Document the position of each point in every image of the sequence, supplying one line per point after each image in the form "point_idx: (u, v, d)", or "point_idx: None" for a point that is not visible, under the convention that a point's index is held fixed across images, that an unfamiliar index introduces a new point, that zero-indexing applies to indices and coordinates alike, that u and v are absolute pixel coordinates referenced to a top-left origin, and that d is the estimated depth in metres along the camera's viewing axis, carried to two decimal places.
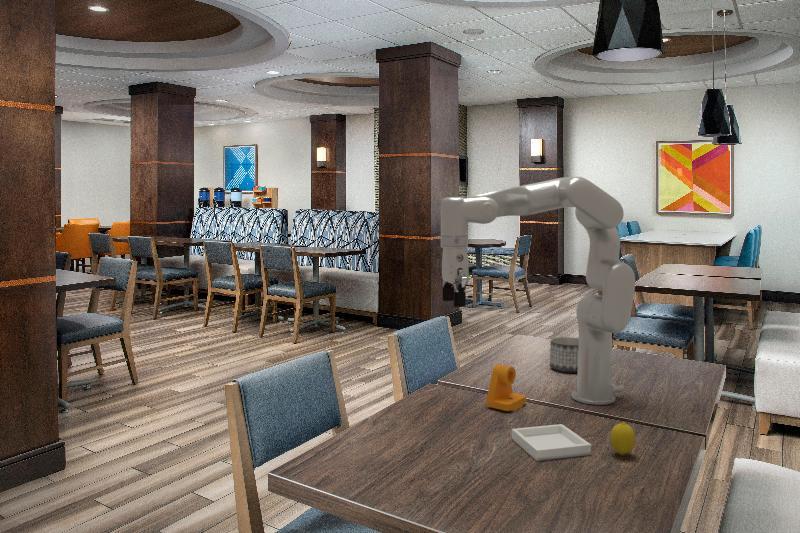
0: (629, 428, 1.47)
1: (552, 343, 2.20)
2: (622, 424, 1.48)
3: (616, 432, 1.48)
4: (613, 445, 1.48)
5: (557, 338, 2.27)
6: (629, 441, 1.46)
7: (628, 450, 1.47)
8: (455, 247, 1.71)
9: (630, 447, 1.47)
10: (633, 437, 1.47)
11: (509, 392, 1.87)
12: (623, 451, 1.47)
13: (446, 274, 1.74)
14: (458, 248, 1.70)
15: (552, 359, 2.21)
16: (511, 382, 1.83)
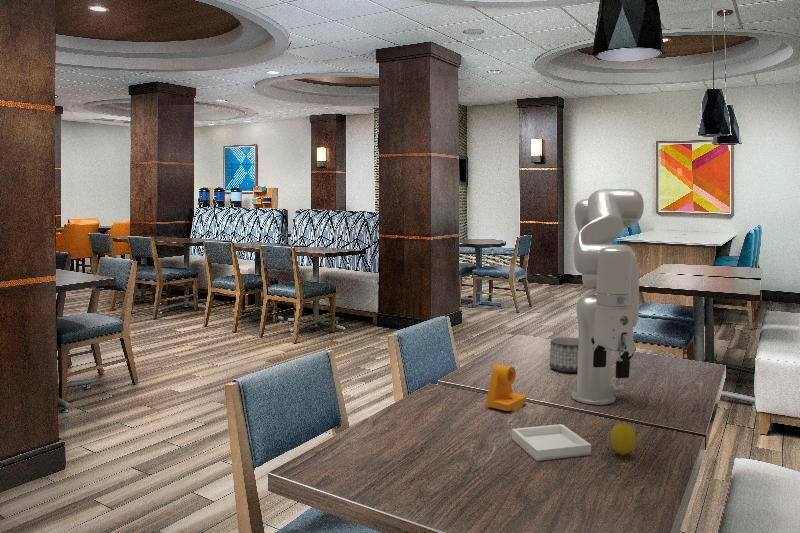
0: (629, 428, 1.47)
1: (552, 343, 2.20)
2: (622, 424, 1.48)
3: (616, 432, 1.48)
4: (613, 445, 1.48)
5: (557, 338, 2.27)
6: (629, 441, 1.46)
7: (628, 450, 1.47)
8: (618, 307, 1.44)
9: (630, 447, 1.47)
10: (633, 437, 1.47)
11: (509, 392, 1.87)
12: (623, 451, 1.47)
13: (603, 338, 1.48)
14: (622, 309, 1.44)
15: (552, 359, 2.21)
16: (511, 382, 1.83)
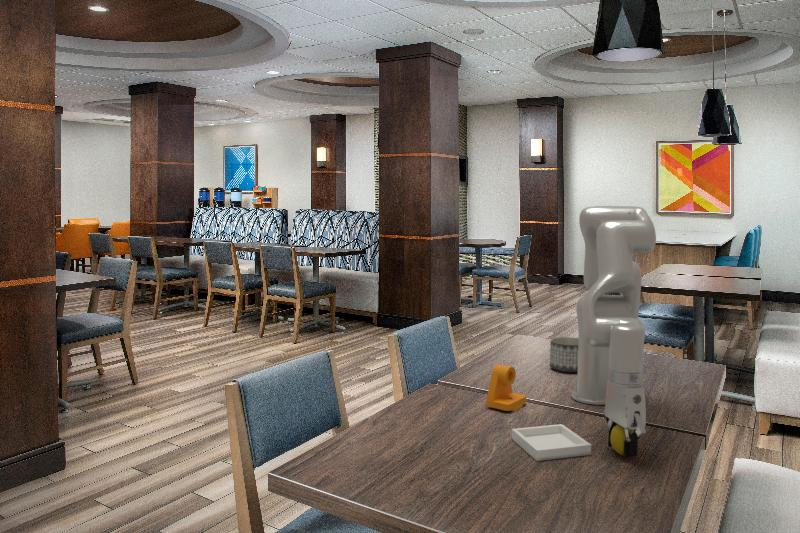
0: None
1: (552, 343, 2.20)
2: None
3: (616, 432, 1.48)
4: (613, 445, 1.48)
5: (557, 338, 2.27)
6: None
7: None
8: (631, 386, 1.44)
9: None
10: None
11: (509, 392, 1.87)
12: (623, 451, 1.47)
13: (615, 414, 1.48)
14: (634, 387, 1.43)
15: (552, 359, 2.21)
16: (511, 382, 1.83)
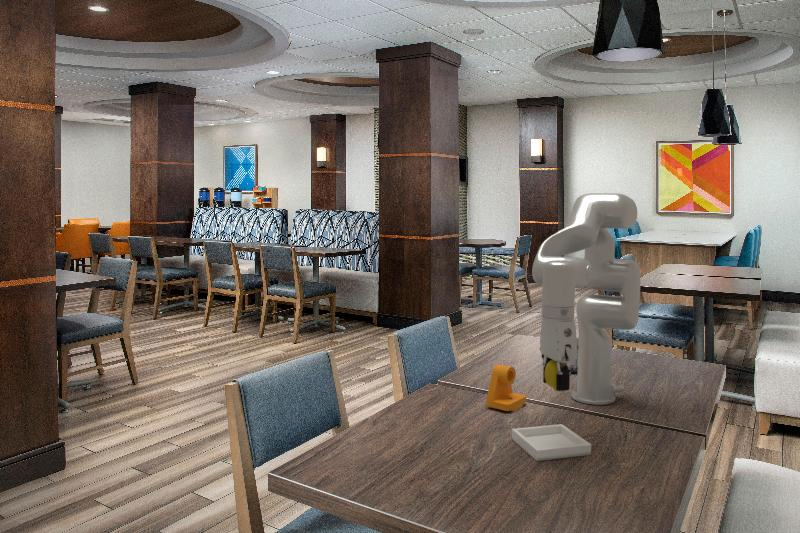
0: None
1: None
2: None
3: (549, 367, 1.51)
4: (547, 380, 1.51)
5: None
6: None
7: None
8: (562, 320, 1.47)
9: None
10: None
11: (509, 392, 1.87)
12: None
13: (548, 349, 1.51)
14: (565, 321, 1.47)
15: None
16: (511, 382, 1.83)
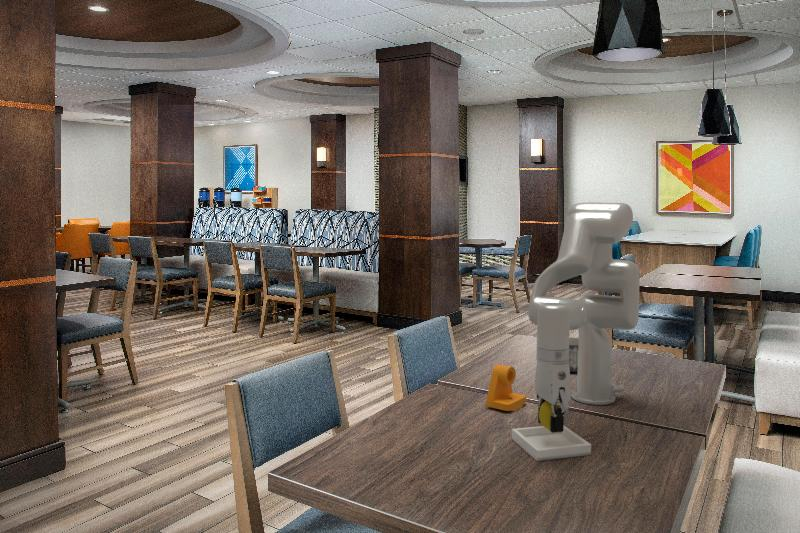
0: None
1: None
2: None
3: (543, 408, 1.52)
4: (541, 421, 1.53)
5: None
6: None
7: None
8: (556, 363, 1.48)
9: None
10: None
11: (509, 392, 1.87)
12: None
13: (542, 390, 1.52)
14: (559, 364, 1.48)
15: None
16: (511, 382, 1.83)
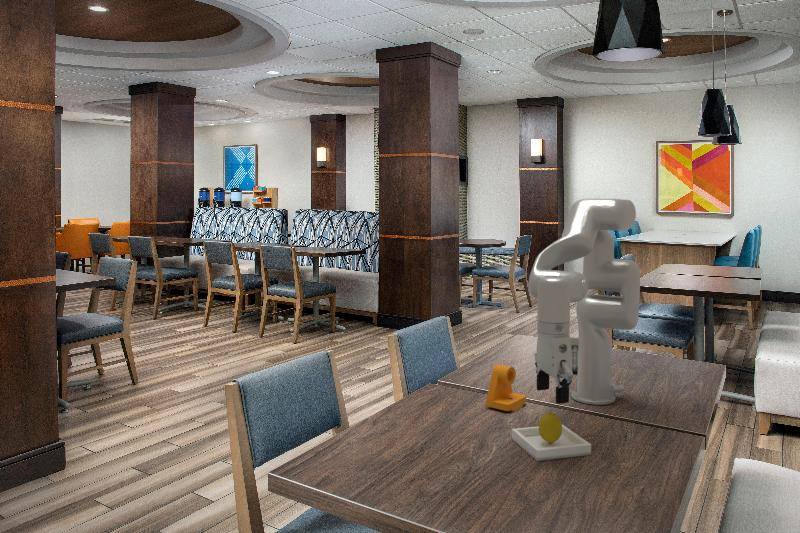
0: (556, 418, 1.52)
1: None
2: (549, 414, 1.53)
3: (543, 422, 1.53)
4: (541, 434, 1.53)
5: None
6: (556, 431, 1.51)
7: (555, 439, 1.52)
8: (557, 336, 1.48)
9: (557, 436, 1.52)
10: (559, 426, 1.52)
11: (509, 392, 1.87)
12: (550, 440, 1.52)
13: (544, 363, 1.52)
14: (560, 337, 1.48)
15: None
16: (511, 382, 1.83)
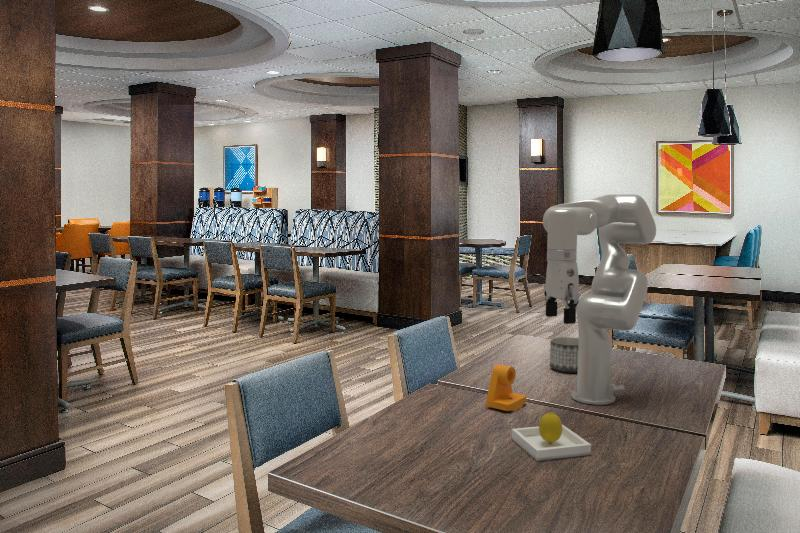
0: (556, 417, 1.53)
1: (552, 343, 2.20)
2: (549, 414, 1.53)
3: (543, 421, 1.53)
4: (541, 434, 1.53)
5: (557, 338, 2.27)
6: (556, 430, 1.52)
7: (555, 439, 1.52)
8: (565, 261, 1.63)
9: (557, 435, 1.52)
10: (560, 426, 1.52)
11: (509, 392, 1.87)
12: (550, 440, 1.52)
13: (553, 289, 1.67)
14: (568, 262, 1.62)
15: (552, 359, 2.21)
16: (511, 382, 1.83)
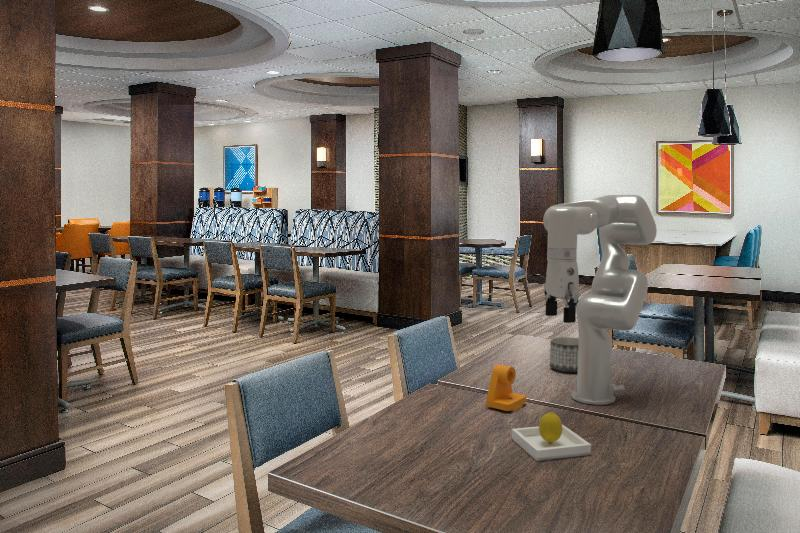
0: (556, 417, 1.53)
1: (552, 343, 2.20)
2: (550, 413, 1.53)
3: (543, 421, 1.53)
4: (541, 434, 1.53)
5: (557, 338, 2.27)
6: (556, 430, 1.52)
7: (555, 438, 1.52)
8: (565, 260, 1.63)
9: (557, 435, 1.52)
10: (560, 426, 1.52)
11: (509, 392, 1.87)
12: (550, 439, 1.52)
13: (553, 288, 1.67)
14: (568, 261, 1.63)
15: (552, 359, 2.21)
16: (511, 382, 1.83)
